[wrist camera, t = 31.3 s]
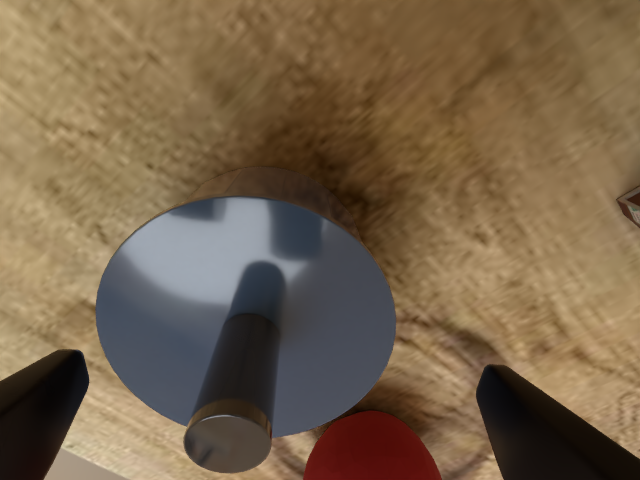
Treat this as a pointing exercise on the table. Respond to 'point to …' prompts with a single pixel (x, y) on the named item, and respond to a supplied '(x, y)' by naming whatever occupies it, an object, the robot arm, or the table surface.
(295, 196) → the tin
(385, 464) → the apple
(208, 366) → the lid
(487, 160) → the table surface
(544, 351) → the table surface
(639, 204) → the food container
